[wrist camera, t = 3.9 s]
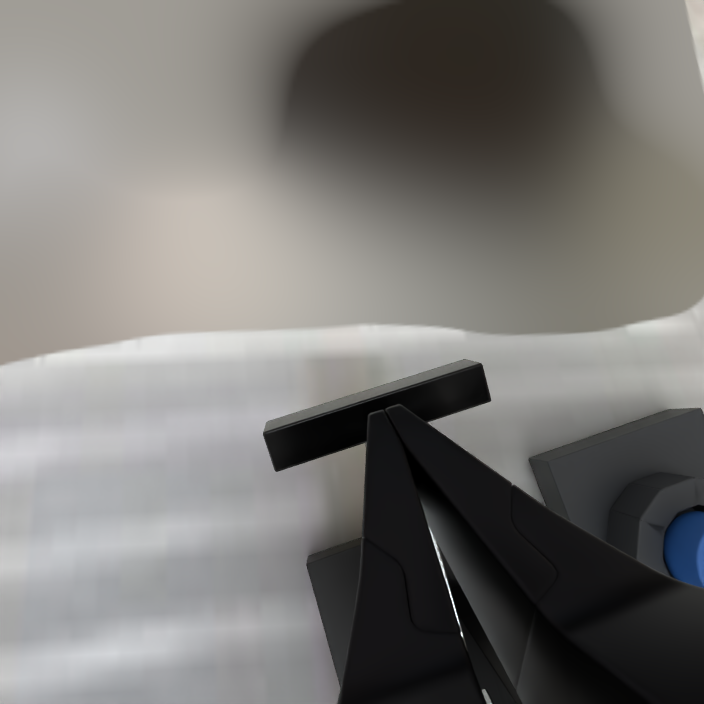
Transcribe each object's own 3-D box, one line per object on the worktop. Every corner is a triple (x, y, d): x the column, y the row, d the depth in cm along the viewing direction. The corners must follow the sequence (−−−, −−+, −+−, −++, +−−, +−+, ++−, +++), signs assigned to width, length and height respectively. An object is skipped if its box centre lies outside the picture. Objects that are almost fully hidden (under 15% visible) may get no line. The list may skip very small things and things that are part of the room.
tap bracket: (307, 556, 21) (284, 674, 11) (467, 499, 21) (577, 562, 12) (373, 791, 19) (415, 1178, 9) (544, 719, 20) (746, 1003, 10)
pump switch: (757, 606, 21) (854, 649, 17) (607, 668, 20) (673, 728, 16) (669, 408, 23) (739, 405, 19) (527, 458, 22) (570, 465, 18)
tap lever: (267, 415, 12) (259, 441, 9) (457, 356, 12) (494, 365, 10) (393, 802, 13) (413, 906, 11) (554, 733, 14) (606, 819, 12)
